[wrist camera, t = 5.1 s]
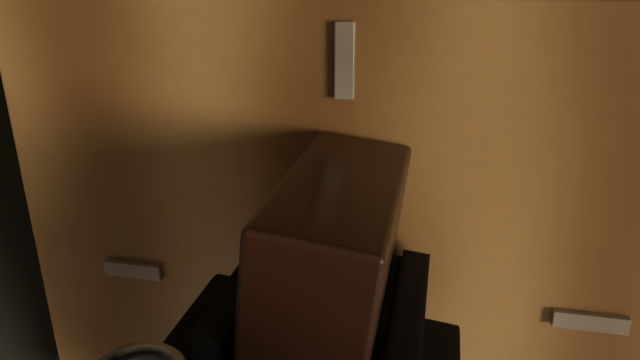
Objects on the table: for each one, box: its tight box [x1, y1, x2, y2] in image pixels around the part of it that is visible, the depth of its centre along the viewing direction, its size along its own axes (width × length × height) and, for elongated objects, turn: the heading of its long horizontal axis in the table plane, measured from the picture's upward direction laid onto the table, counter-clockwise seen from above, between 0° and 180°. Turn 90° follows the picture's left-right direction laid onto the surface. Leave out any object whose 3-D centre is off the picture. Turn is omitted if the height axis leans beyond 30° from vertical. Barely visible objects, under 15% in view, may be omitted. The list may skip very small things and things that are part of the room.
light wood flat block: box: [0, 0, 640, 360], centre depth 13 cm, size 15×12×3 cm
